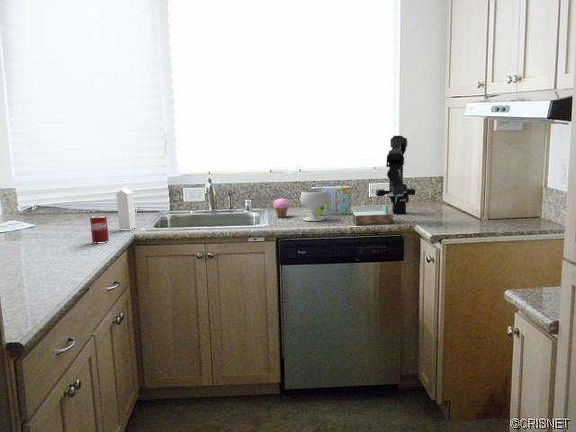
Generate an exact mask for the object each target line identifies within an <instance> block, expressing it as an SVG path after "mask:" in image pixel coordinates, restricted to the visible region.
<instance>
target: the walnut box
mask: <svg viewBox="0 0 576 432" xmlns="http://www.w3.org/2000/svg"><path fill="white" fill-rule="evenodd" d="M365 212H369V211H365ZM388 213H389V214H390V215H365V216H356V217H355V215H354V214H353V213H352V222H353V224H355V226H374V225H377V226H378V225H393V224H394V213H393V214H391V213H390V212H389V210H388Z"/></svg>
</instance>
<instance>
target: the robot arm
mask: <svg viewBox="0 0 576 432" xmlns="http://www.w3.org/2000/svg"><path fill="white" fill-rule="evenodd" d="M390 148H391V149H390V150H389V151H388V154H386V166H385V167H386V168H389V169H388V171H387V174H386V176H387V178H388V181H389V182H388V183H389V186H388V187H389V188H388V189H389V190H385V189H384V188H379V189H376V190H375V196H376V197H385V195H386V196H387V198H389V199H390V203H391V204H392V205H391V211H392V213H393V215H406V214H408V213H407V203H409V202H410V199H409V196H415V195H416V189H415V188H413V187H408V185H407V183H406V184H405V183H404V166H405V156H404V155H405V153H406V151H407V148H408V139H407V138H406V137H404V136H403V135H393V136H392V138H390Z"/></svg>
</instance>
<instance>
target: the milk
mask: <svg viewBox="0 0 576 432" xmlns="http://www.w3.org/2000/svg"><path fill="white" fill-rule="evenodd" d="M115 194H116V205H117V207H116V208H117V215H118V216H117V218H118V227H119V228H120V229H131V228H133V227H136V228H137V225H136V215H135V202H134V191H132V190H130V189H128V185H126V186H125V185H124V186H121V187H120V191H118V192H117V193H115ZM120 229H119V230H120Z"/></svg>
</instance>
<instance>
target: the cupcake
mask: <svg viewBox="0 0 576 432" xmlns="http://www.w3.org/2000/svg"><path fill="white" fill-rule="evenodd" d="M272 207H273V208H274V209H275V212H276V213H275V214H276V217H278V218H286V217H287V213H288V210H289V209H288V208H289V207H290V203H289V201H288V200H287V199H286V198H277V199H275V200H274V201H273V205H272Z"/></svg>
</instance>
